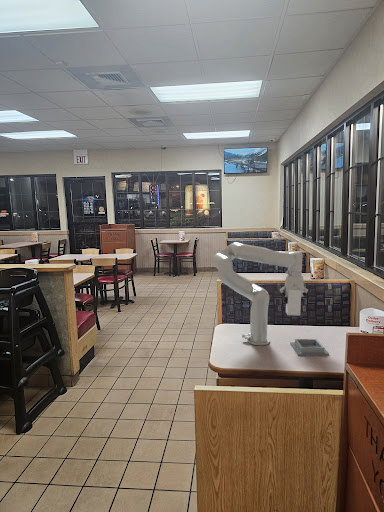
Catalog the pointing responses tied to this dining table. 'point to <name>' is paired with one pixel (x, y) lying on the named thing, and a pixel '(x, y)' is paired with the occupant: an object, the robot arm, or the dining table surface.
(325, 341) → the dining table surface
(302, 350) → the carton tray
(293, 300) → the milk carton
